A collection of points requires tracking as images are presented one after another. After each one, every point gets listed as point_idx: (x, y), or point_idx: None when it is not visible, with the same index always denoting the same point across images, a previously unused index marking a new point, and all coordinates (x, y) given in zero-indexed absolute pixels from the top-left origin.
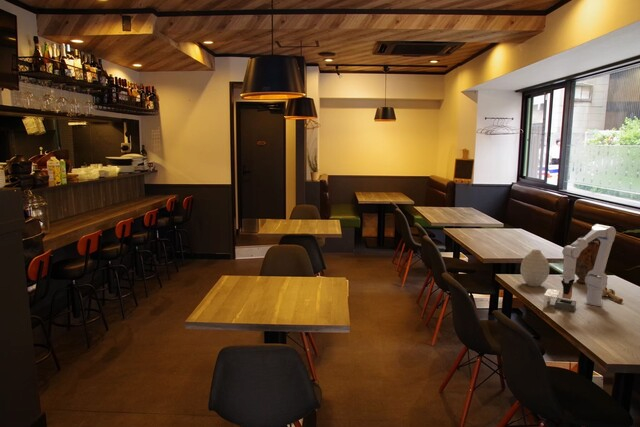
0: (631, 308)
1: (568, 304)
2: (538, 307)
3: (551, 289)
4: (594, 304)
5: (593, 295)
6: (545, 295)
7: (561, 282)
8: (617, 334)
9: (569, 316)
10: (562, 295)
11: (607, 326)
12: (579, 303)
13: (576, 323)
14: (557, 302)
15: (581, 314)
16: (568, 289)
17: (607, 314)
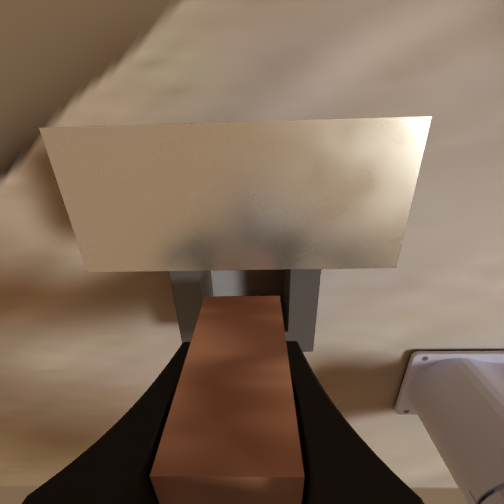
0: (432, 481)
1: (180, 320)
2: (97, 91)
3: (403, 169)
4: (405, 391)
5: (443, 442)
6: (47, 149)
7: (25, 501)
8: (37, 456)
9: (89, 310)
10: (200, 312)
11: (99, 434)
12: (407, 326)
13: (7, 347)
14: None
15: None
16: None
17: None
